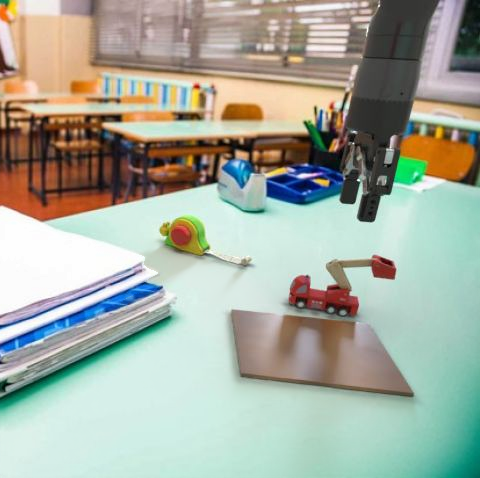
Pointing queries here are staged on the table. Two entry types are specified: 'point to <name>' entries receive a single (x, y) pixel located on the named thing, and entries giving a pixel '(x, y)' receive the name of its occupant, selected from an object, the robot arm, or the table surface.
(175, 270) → the table surface
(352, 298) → the toy fire truck
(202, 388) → the table surface
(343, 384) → the metal plate
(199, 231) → the toy measuring tape
